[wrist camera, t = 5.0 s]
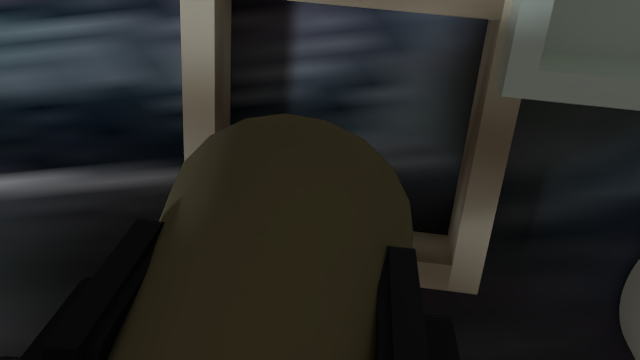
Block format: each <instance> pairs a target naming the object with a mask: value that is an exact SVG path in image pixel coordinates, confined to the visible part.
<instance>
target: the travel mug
mask: <svg viewBox="0 0 640 360" xmlns="http://www.w3.org/2000/svg"><path fill="white" fill-rule="evenodd" d="M619 317H620V325H621V329H622V333H623V335H624V338H625V340H626V342H627V344H628V346H629V348H630V350H631V352H632V354H633V356H634V358H635V360H640V259H639V260H638V262H637V263H636V265H635V266H634V268H633V269H632V271H631V273H630V274H629V276H628V278H627V280H626V283H625V285H624V288H623V291H622V295H621V299H620V306H619Z"/></svg>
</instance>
